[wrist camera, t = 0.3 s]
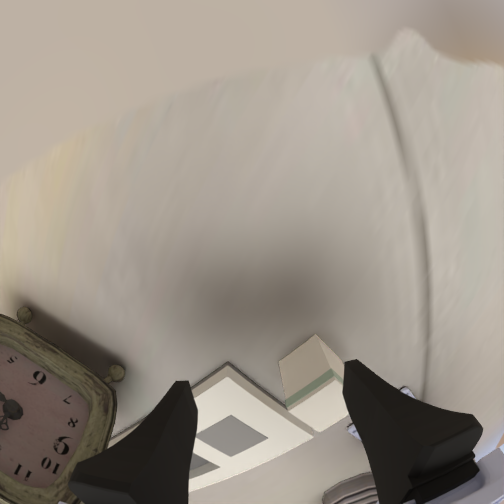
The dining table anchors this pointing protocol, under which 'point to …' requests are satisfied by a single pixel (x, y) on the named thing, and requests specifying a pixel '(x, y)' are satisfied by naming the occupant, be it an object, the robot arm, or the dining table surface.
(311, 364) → the block
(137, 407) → the dining table surface
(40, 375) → the tabletop clock
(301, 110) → the dining table surface
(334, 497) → the grey angular piece
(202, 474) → the power strip
